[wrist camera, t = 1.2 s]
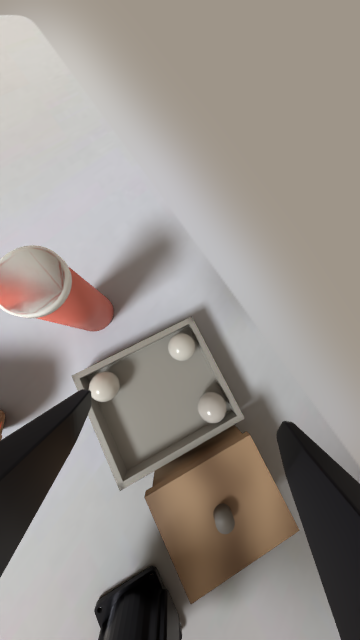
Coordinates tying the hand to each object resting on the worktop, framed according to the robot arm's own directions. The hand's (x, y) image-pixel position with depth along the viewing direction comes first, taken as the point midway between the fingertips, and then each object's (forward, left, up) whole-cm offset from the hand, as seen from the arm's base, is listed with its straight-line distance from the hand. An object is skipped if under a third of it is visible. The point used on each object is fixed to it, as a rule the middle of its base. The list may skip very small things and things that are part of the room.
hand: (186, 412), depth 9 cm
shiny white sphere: (+2, -4, -13) cm, 14 cm away
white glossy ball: (+2, +3, -13) cm, 14 cm away
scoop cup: (-6, +11, -14) cm, 19 cm away
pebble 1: (-7, +3, -13) cm, 15 cm away
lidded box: (-2, -12, -14) cm, 18 cm away
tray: (-3, -1, -14) cm, 14 cm away
